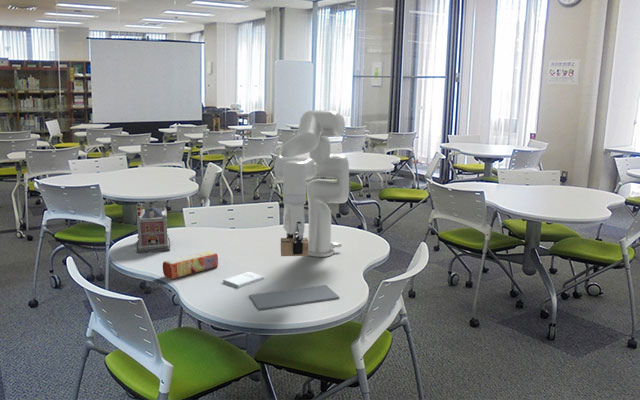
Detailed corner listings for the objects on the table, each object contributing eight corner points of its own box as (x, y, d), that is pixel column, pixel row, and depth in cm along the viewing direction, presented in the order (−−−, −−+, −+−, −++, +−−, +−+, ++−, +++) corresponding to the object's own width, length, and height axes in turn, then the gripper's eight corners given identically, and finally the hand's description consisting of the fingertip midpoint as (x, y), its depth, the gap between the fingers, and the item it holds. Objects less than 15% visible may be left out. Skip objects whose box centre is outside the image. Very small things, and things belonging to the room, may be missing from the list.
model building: (137, 241, 249) (134, 197, 244) (170, 239, 253) (167, 196, 248) (135, 253, 231) (133, 207, 227) (170, 251, 235) (168, 205, 231)
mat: (325, 286, 197) (326, 284, 197) (339, 298, 187) (339, 296, 186) (249, 296, 187) (249, 294, 187) (258, 310, 176) (258, 308, 176)
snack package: (210, 264, 220) (209, 247, 219) (219, 268, 216) (219, 251, 214) (162, 277, 205) (161, 259, 204) (171, 281, 201) (170, 264, 199)
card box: (280, 250, 187) (280, 237, 187) (307, 250, 188) (307, 237, 187) (281, 256, 182) (281, 242, 181) (308, 255, 182) (308, 242, 181)
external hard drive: (223, 283, 200) (248, 274, 209) (238, 289, 195) (263, 280, 204) (223, 279, 200) (248, 270, 209) (238, 285, 195) (263, 275, 204)
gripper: (276, 194, 188) (277, 244, 192) (290, 204, 172) (290, 259, 176) (298, 192, 190) (297, 242, 194) (313, 203, 174) (313, 257, 178)
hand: (294, 250), depth 185 cm, fingers closed on card box, 6 cm apart
